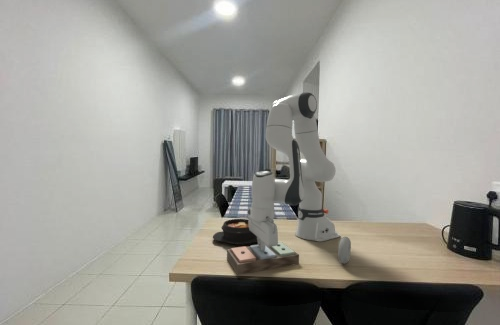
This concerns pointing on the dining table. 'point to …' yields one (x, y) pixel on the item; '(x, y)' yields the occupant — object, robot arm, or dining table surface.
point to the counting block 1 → (242, 254)
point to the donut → (344, 250)
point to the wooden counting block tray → (261, 262)
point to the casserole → (235, 232)
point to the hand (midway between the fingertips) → (261, 249)
